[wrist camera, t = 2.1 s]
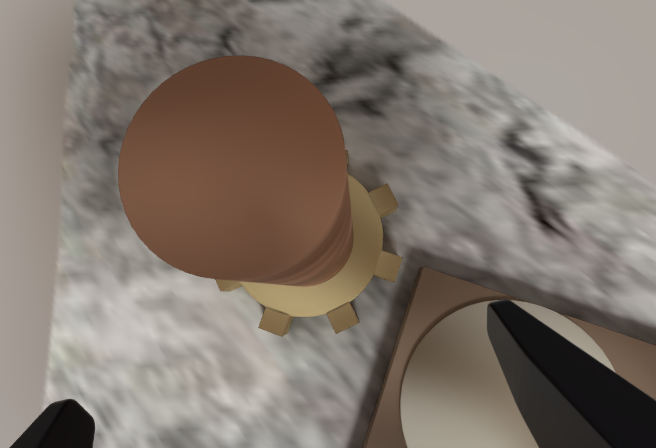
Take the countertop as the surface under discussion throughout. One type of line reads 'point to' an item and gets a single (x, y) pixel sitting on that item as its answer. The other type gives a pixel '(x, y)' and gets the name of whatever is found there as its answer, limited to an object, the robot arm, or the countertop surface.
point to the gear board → (474, 370)
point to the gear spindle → (255, 190)
